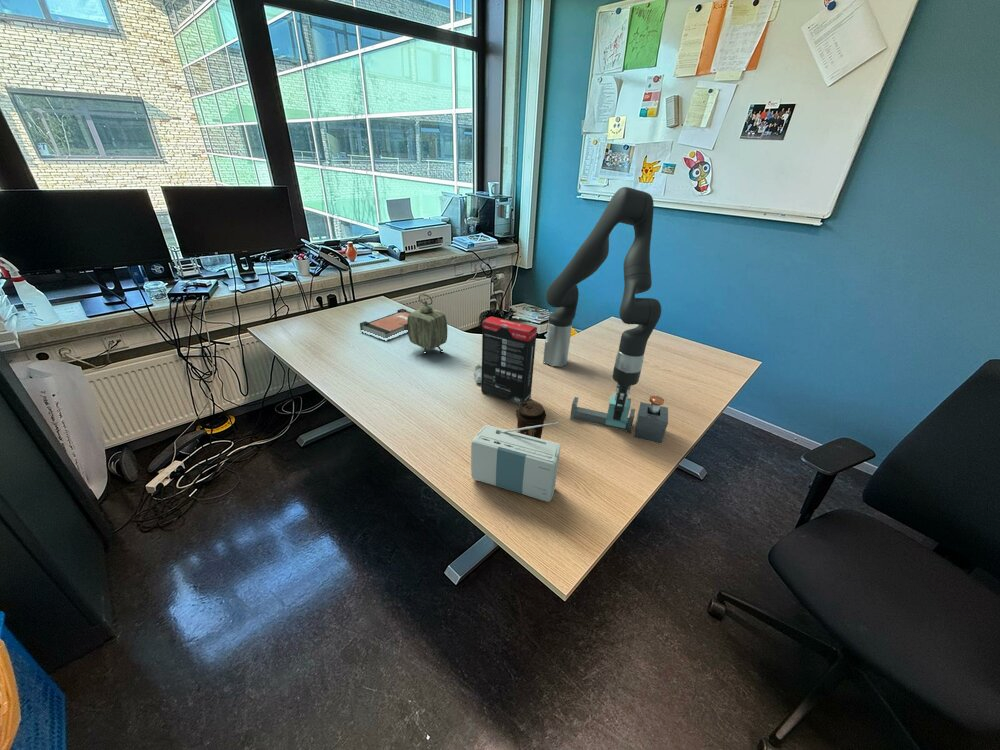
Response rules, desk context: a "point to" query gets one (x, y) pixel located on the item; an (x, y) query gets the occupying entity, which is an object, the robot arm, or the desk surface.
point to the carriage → (623, 417)
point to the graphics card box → (507, 359)
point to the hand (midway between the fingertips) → (618, 412)
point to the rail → (597, 416)
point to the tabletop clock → (427, 326)
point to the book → (387, 324)
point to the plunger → (655, 404)
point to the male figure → (478, 372)
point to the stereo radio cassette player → (515, 461)
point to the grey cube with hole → (651, 424)
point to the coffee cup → (530, 418)
